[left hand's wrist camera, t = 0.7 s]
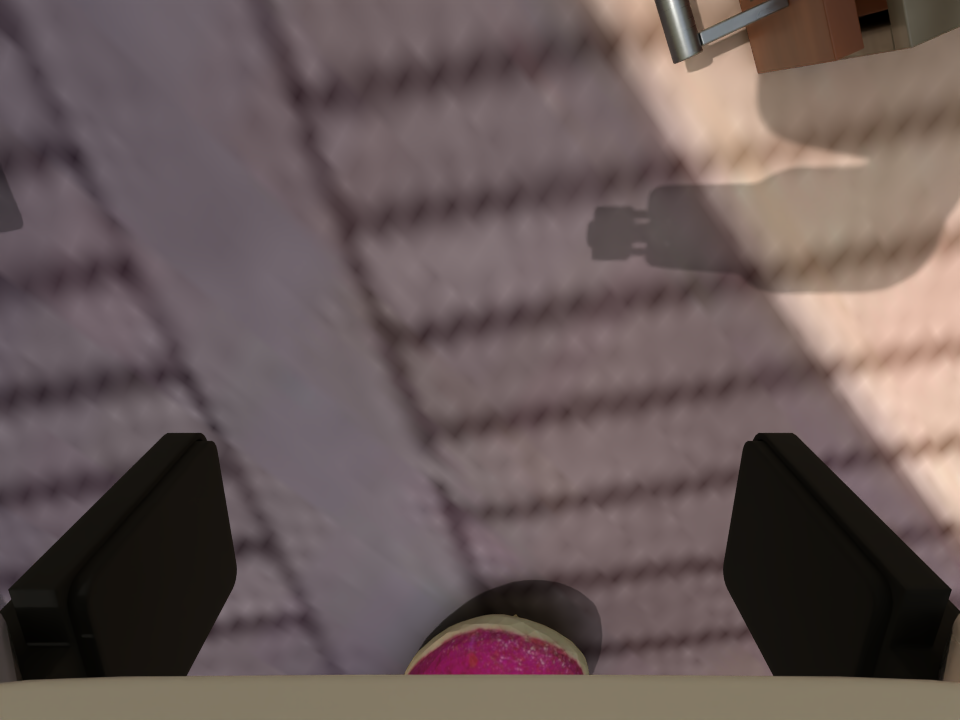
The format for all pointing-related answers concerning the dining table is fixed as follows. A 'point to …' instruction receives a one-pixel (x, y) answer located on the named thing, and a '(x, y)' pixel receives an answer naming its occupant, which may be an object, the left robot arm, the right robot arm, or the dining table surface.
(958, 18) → the grey storage box
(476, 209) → the dining table surface
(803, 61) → the drawer
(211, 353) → the dining table surface
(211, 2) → the dining table surface
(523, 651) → the shoe
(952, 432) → the dining table surface
